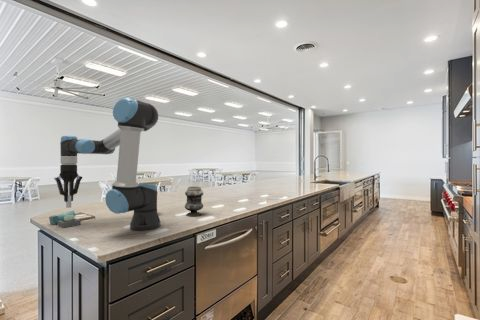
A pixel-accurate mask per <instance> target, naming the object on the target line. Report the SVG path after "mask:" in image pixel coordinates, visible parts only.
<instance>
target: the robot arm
mask: <svg viewBox="0 0 480 320" xmlns="http://www.w3.org/2000/svg"><path fill="white" fill-rule="evenodd" d="M112 116H113V118H114V119H113V120H115V122H117V127H118V129H116V130H115V131H114V132H112V133H111V134H109V135H108V136H105V137H104V138H103V139H101V140H95V139H94V140H93V139H92V140H91V139H87V138H82V139H81V138H79V139H78V136H76V135H75V136H73V135H62V136H61V137H60V143H59V144H60V148H59V149H60V167H59V168H60V169H59V170H60V172H59V175H58V176H56V177H54V179H53V180H55V182H56V185H57V189H58V192H59V195H62V196H63V199H64V202H65V208H68V209H69V208H72V202H73V201H74V196H75V195H76V194H77V193H78V192H79V187H80V184H81V181H82V179H83V176H82V175H81V176H80V175H79V174H78V165H77V164H78V154H80V155H81V154H82V155H85V154H86V155H88V154H89V155H97V154H98V155H112V154H114V153H115V150H116V148H117V147H119V148H118V159H117V173H116V181H114V182H113V183H112V187H111V189H109V190H108V191H107V192H106V194H105V200H104V201H105V205H106V207H107V208H108V209H109V210H110V212H112V213H114V214H118V215H119V214H126V213H129V212H133V214H132V217H131V221H130V223H129V228H130V230H133V231H150V230H153V229H154V230H155V229H158V228H159V227H160V226H161V220H160V216H159V213H158V193H157V192H158V186H157V185H156V184H153V183H138V182H137V175H138V163H139V153H140V141H141V133H142V132H147V131H149V130H150V129H152V128H153V127H155V126H156V125H157V123H158V122H159V121H158V120H159V113H158V109H157V108H156V107H155V106H154V105H152V104H151V103H147V102H144V101H141V100H139V99H135V98H132V97H131V98H130V97H122V98H120V99H119V100H118V101H117V102H115V104H114V106H113V109H112ZM61 180H62V181H63V184H62V181H61ZM74 183H75V184H74Z"/></svg>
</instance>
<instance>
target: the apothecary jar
mask: <svg viewBox="0 0 480 320" xmlns="http://www.w3.org/2000/svg"><path fill="white" fill-rule="evenodd" d="M184 195H185V196H186V203H185V204H184V208H185V210H187V211H189V212H188V213H186V216H187V217H199V216H202V213H201V212H200V211H201V210H202V209H203V208H204V204H203V202H202V197H203V195H204V191H203V190H202V187H201V186H188V187H187V189H186V190H185V192H184Z"/></svg>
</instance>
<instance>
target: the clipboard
mask: <svg viewBox="0 0 480 320" xmlns="http://www.w3.org/2000/svg"><path fill="white" fill-rule="evenodd" d="M75 214H76V216H75V217H74V218H76V219H79V220H80V222H81V221H87V220H92V219H96V216H95V215H92V214H88V213H85V212H75Z"/></svg>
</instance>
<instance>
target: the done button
mask: <svg viewBox="0 0 480 320" xmlns="http://www.w3.org/2000/svg"><path fill="white" fill-rule="evenodd" d="M70 221H74V215H66V216H64V222H70Z"/></svg>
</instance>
